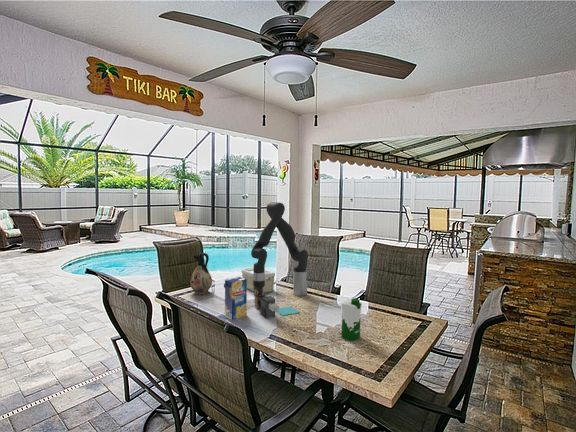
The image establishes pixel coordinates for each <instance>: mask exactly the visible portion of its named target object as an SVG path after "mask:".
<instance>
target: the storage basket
mask: <svg viewBox="0 0 576 432" xmlns="http://www.w3.org/2000/svg"><path fill="white" fill-rule="evenodd" d="M241 273H242V274H241V275H242V278H246V279H247V290H249V291H251V292H253V293H254V286H253V273H254V266H252V267H245V268H242V269H241ZM275 276H276V273H275V272H274V271H272V270H269V269H267V268H265V286H264V287H263V292H265V293H269V292H273V291H274V286H275Z"/></svg>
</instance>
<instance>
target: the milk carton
mask: <svg viewBox="0 0 576 432" xmlns="http://www.w3.org/2000/svg"><path fill="white" fill-rule="evenodd" d="M362 304H363V302H360V299H359V298H351V299H347V300H345V301H343V302H341V304H340V305H341V335H340V336H341V337H340V338H343V339H346V340H349V341H351V342H355V341H356V340H358V339H359V338H360V337H361V316H362V315H361V313H362V306H363V305H362Z"/></svg>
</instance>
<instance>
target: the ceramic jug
mask: <svg viewBox="0 0 576 432" xmlns="http://www.w3.org/2000/svg"><path fill="white" fill-rule="evenodd" d="M204 257H205V259H204ZM192 260H195V261H197V265H196V267H195V269H194V270H193V272H192V275H191V278H190V283H189V284H190V287H191V289H192V290H193V292H194V294H196V295H205V294H208V293H209V290H210V289H211V287H212V285H213V278H212V275H211V273H210V272H209V270H208V263H209V255H208V253H206V252H201V253H198V254H194V256H193V257H192Z"/></svg>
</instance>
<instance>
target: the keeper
mask: <svg viewBox="0 0 576 432" xmlns="http://www.w3.org/2000/svg"><path fill="white" fill-rule="evenodd" d="M267 302H274V303H276V298H274V297H273V296H272V295H266V296H265V297H261V308H260V315H261V316H262V317H263V318H264V319H270V318H275V317H276V311H272V310H270V309H269V308H268V307H267Z"/></svg>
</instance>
